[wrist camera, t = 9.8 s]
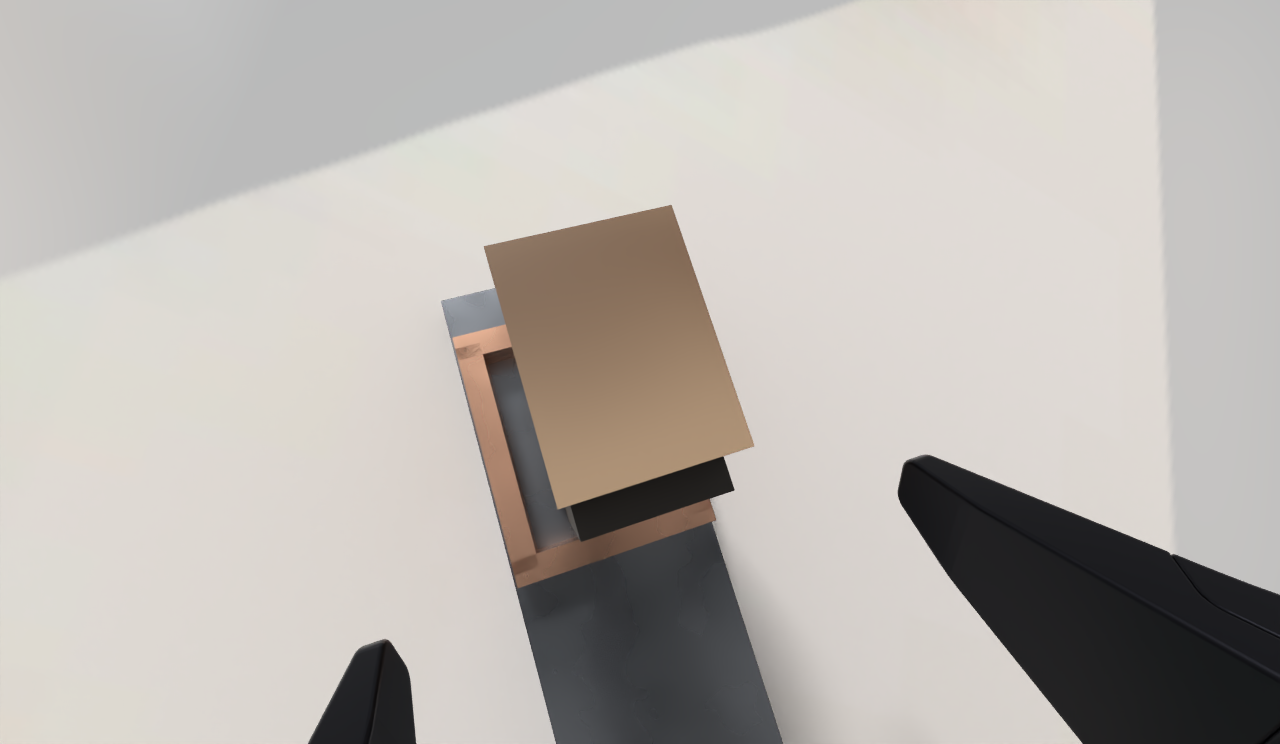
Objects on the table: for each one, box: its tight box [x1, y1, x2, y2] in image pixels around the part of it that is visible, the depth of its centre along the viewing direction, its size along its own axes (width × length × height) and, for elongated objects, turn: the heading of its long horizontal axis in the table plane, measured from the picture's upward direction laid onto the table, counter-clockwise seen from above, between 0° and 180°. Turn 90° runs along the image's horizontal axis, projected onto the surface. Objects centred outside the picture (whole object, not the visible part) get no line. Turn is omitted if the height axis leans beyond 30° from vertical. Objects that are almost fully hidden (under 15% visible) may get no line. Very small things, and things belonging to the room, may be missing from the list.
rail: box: [441, 288, 783, 744], centre depth 14 cm, size 26×7×14 cm, turn 17°
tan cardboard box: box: [484, 205, 754, 542], centre depth 14 cm, size 5×3×12 cm, turn 18°
